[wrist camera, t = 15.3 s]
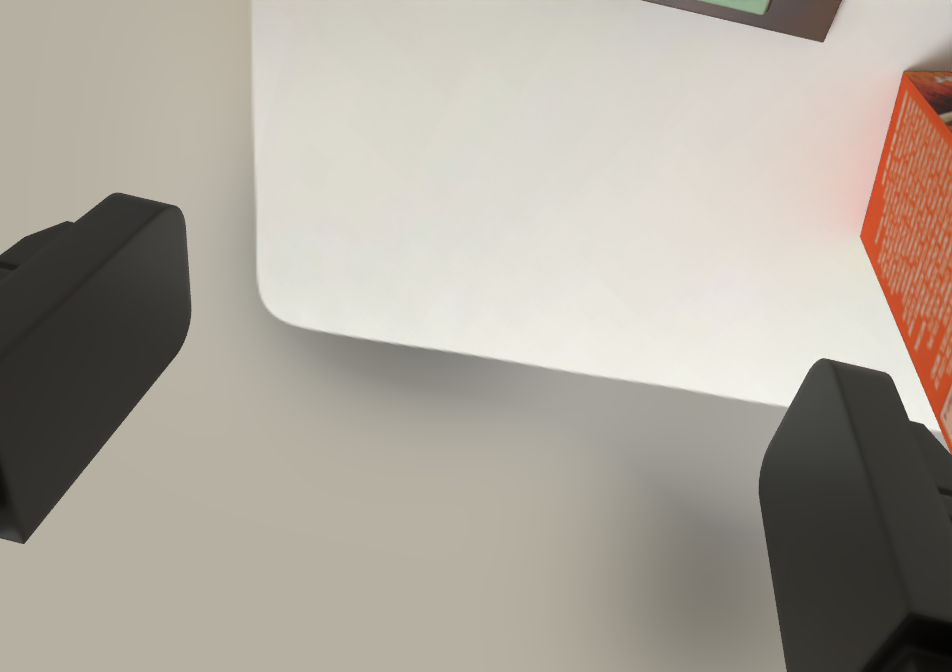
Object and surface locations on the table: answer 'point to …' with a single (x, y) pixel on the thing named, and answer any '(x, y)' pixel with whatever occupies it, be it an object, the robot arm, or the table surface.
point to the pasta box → (918, 231)
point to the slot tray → (772, 15)
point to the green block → (743, 5)
